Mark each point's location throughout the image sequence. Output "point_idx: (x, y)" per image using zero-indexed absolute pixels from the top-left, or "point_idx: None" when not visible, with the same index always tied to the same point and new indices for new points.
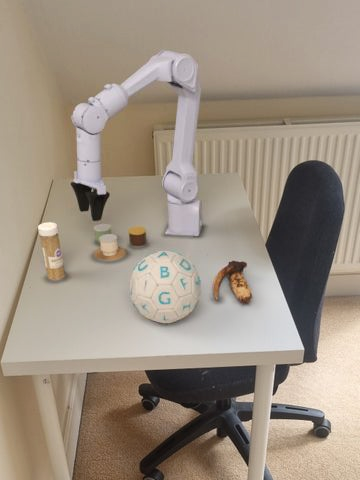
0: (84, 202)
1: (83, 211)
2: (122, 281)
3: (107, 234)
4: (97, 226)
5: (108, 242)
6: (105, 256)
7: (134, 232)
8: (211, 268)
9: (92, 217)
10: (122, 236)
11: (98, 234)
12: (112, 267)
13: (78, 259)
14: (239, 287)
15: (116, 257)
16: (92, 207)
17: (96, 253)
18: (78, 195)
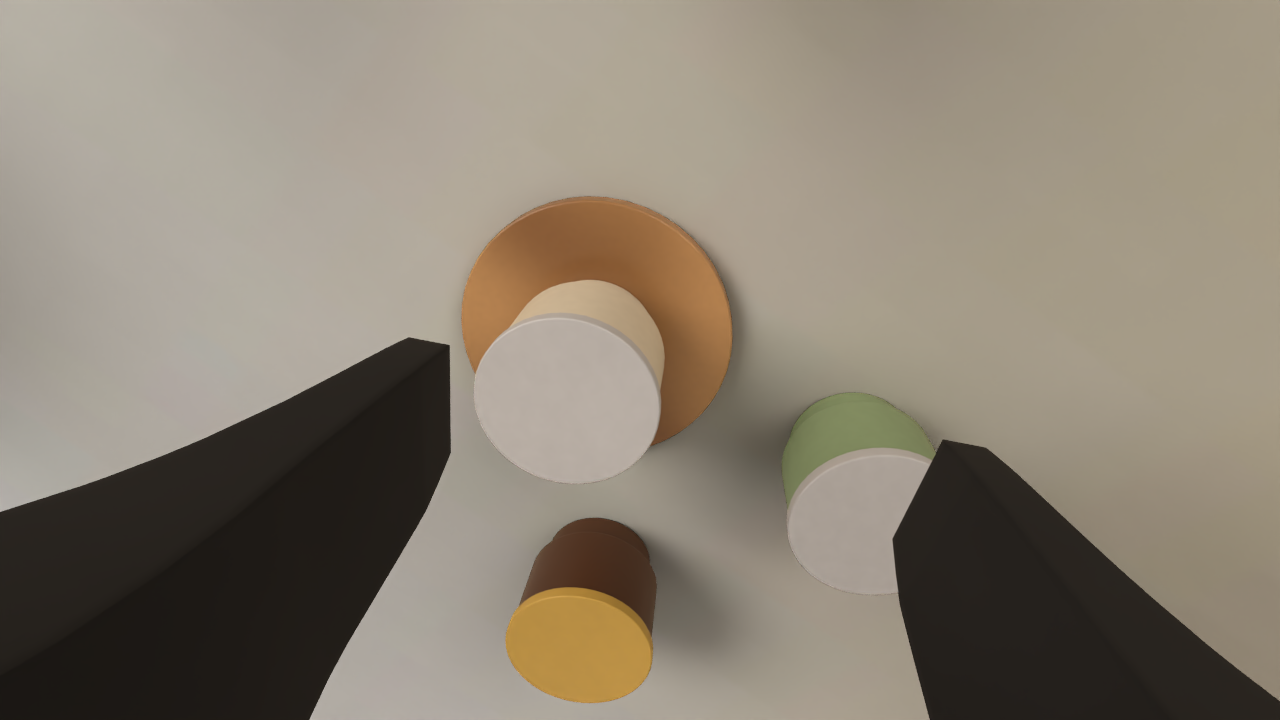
0: (971, 628)
1: (926, 475)
2: (109, 106)
3: (634, 442)
4: None
5: (489, 347)
6: (561, 271)
7: (547, 613)
8: None
9: (377, 355)
10: (812, 581)
11: (842, 438)
12: (385, 205)
13: (733, 69)
14: None
15: (483, 322)
16: (142, 465)
17: (670, 252)
18: (1127, 713)
